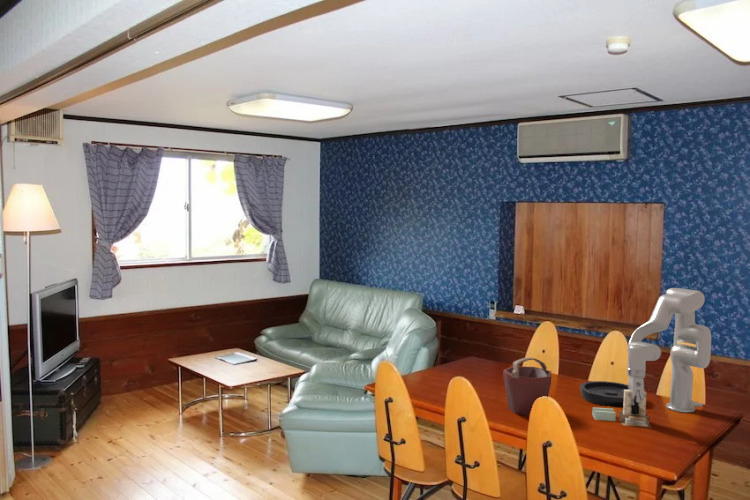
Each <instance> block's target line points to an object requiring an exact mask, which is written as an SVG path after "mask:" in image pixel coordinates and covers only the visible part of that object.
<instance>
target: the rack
mask: <svg viewBox="0 0 750 500" xmlns="http://www.w3.org/2000/svg"><path fill="white" fill-rule="evenodd" d="M629 416H638V417H646V419H647V421H646V422H647V424H648V427H647V428H652V425H650V417H651V416H649V415H648V413H647V412H646V413H645V416H641V415H627V414H623V410H619V411H618V418H617V419H618V420H619V422H620V423H621V425H622V426H627V427H628V426H629V427H632V426H631V425H626V424H625V418H629ZM637 427H640V428H641V427H642V428H646V427H645V426H637Z"/></svg>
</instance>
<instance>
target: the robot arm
mask: <svg viewBox="0 0 750 500" xmlns="http://www.w3.org/2000/svg"><path fill="white" fill-rule="evenodd" d="M704 303H705V295H704V293H703V292H701V291H700V290H696V289H695V290H694V289H689V288H680V287H671V288H668V289H666V292H665V294H663V295H660V296H659V297H658V298H657V301H656V304H655V306H654V308H653V310H652V313H651V314H650V317H649V319H648V321H646V322H645V323H642V325H640V326H639V327H637V328H636V329H635V330H634V331H633V333H632V334H631V337H630V339H629V341H628V344H627V347H626V348H627V369H626V370H627V371H626V376H628V384H627V385H628V390H630V393H631V398H632V399H633V400H632V406H631V413H632V414H639V403H640V398H641V399H642V400H643V399H644V391H645V383H644V381H645V380H644V378H646V368H647V366H646V364H647V363H646V362H654V361H657V360H658V359H660V357H661V355H662V350H661V348H660V347H659V346H658V345H657V344H653V343H649V342H645V341H643V340H644V338H646V337H647V336H649V335H650V336H651V335H652V334H655V333H660V332H663V331H666V330H668V328H669V325H670V323H671V321H672V320H673V319H672V318H673V317H675V319H674V321H675V322H674V336H675V337H674V338H675V339H676V340H677V341H679V342H681V343H678V344H674V345H673V346H672V347H671V348H670V352H669V354H670V361H671V363H670V364H671V379H670V394H669V395H670V396H669V397H670V398H669V402H668V403H666V405H665V406H666V408H667V409H669V410H672V411H674V412H678V413H694V412H695V411H696V407H699V408H703V407H704V406H703V403H702V402H698V401H693V386H694V385H693V384H694V372H693V369H692V368H693V367H694V368H698V369H706V368H707V367H708V366H709V364H710V362H711V353H712V352H711V350H712V349H711V348H712V333H711V330H710V328H709V327H708V326H706V325H701V324H697V323H696V313H695V311H697V310H699V309H701V308H702V307H703V305H704ZM674 315H675V316H674ZM682 343H686V344H682ZM688 344H692V345H688ZM693 345H696V346H693ZM634 397H636V398H634ZM634 400H636V401H634Z"/></svg>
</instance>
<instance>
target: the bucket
mask: <svg viewBox="0 0 750 500" xmlns="http://www.w3.org/2000/svg"><path fill="white" fill-rule="evenodd" d="M528 361H534V362H536V363H538V364H539V366H540V367H541V368H539V367H536V366H521V365H520V364H523V363H524V362H525V363H526V362H528ZM502 373H503V374H502V376H503V382H504V389H505V394H506V400H507V406H508V407H507V408H508V409H509V410H510V411H512V413H513V414H516V415H521V416H527V417H530V416H529V414H530V411H531V408H532V405H533V403H534V401H535V400H536V399H537V398H539V397H542V396H547V397H549V394H550V389H551V387H552V370H548V367H547V365H546V363H545V362H544V361H541V360H540V359H537V358H534V357H523V358H520V359H517V360H514V361H513V362H512V366H510V367H508V368H505V369H503V372H502Z"/></svg>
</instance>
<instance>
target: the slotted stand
mask: <svg viewBox="0 0 750 500" xmlns="http://www.w3.org/2000/svg"><path fill="white" fill-rule="evenodd" d="M616 414H617V412H616V411H615V410H614V408H610V407H608V408H607V407H606V408H605V407H595V406H594V407H593V406H592V414H591V415H592V417H593V419H594V420H596V421H606V422H607V421H608V422H616V416H617V415H616Z"/></svg>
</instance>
